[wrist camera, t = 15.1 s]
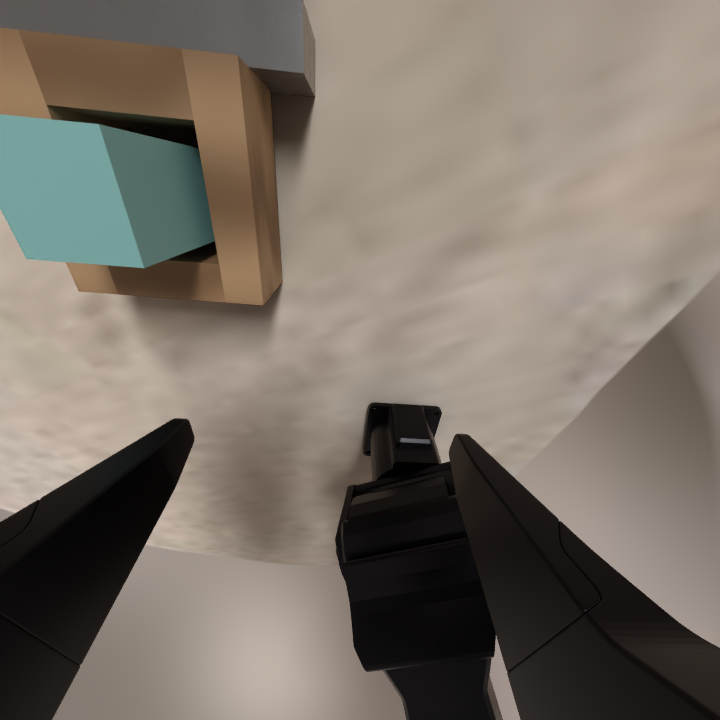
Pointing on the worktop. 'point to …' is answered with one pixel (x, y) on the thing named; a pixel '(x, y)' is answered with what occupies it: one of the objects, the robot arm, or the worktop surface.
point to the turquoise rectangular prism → (100, 193)
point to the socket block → (177, 113)
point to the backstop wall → (189, 30)
